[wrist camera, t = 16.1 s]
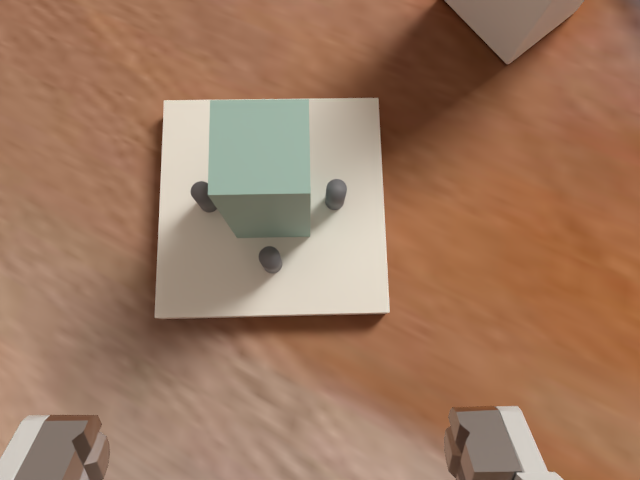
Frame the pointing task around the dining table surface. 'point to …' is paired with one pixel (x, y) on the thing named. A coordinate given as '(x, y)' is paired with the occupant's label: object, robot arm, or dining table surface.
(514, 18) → the milk carton
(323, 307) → the peg board
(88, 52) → the dining table surface
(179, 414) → the dining table surface
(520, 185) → the dining table surface
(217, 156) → the block
